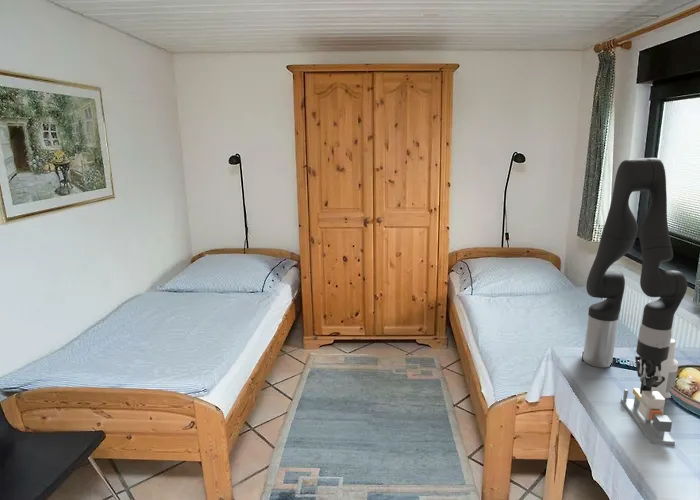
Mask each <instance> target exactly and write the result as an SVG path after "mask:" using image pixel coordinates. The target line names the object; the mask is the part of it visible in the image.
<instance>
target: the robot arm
mask: <svg viewBox="0 0 700 500" xmlns="http://www.w3.org/2000/svg"><path fill="white" fill-rule="evenodd" d="M633 192H648V193H649V194H648V195H649V206H648V210H647V212H646V214H645V216H644V218H643V220H642V222H641V225H640V227H639V225H638V222H637V220H636V217H635V216H634V214H633V212H632V210H631V207H630V205H629V204H630V203H629V202H630V196H631V195H632V193H633ZM667 198H668V197H667V176H666V169H665V166H664V163H663V162H662V160H661V159H660V158H658V157H644V158H632V159H631V158H630V159H624V160H623V161H621V162H620V163H619V165H618V168H617V170H616V174H615V179H614V184H613V191H612V196H611V201H610V206H609V208H608V213H607V217H606V220H605V222H604V226H603V228H602V232H601V236H600V241H599V245H598V248H597V252H596V255H595V258H594V261H593V263H592V266H591V267H590V270H589V273H588V276H587V280H586V292H587V294H588V296H589V297H592V298H596V299H598V298H599V299H604V300H602V301H600V302H596V303H592V304H591V305H590V306H589V307H588V313H587V314H588V315H587V322H586V331H585V338H584V347H583V356H582V360H583V361H584V363H586V364H587V365H590V366H592V367H596V368H609V367H611V366H612V365H611V363H612V364H613V359H614V352H615V345H616V338H617V331H618V324H619V317H620V316H619V315H620V313H621V307H622V303H623V297H624V293H625V285H626V280H625V275H624V273H623V272H621V271H618V270H609V268H611V266H612V265H613V264H615V263H616V262H617V261H618V260H620V259H621V258H623V257H624V256H625V255H626V254H628V252H630V250H631V249H633V246H634V244H635V241H636V237H637V235H638V237H639V244H640V250H641V254H642V261H641V262H642V263H641V274H640V279H639V280H640V281H639V285H640V288H641V291H642V292H643V294H645V296H647V297H650V298H658V299H656V300H654V301H651V302H648V303H646V304H645V306H644V308H643V313H642V318H641V324H640V327H639V330H638V331H639V332H638V337H637V342H636V343H637V344H636V351H635V352H636V354H637V355H636V356H634V358H635V365H636V372H637V377H638V378H640V379H639V380H640V383H641V384H640V388H639V389H640V394H641V395H642V391H651V389H652V387H658V386H659V385H660V384H661V383H663V382H664V381H665V377H664V376H661V374H660V371H661V362H663V361H665V360H666V359H667V358H668V353H669V348H670V342H671V339H672V335H673V334H672V333H673V331H672V329H673V324H674V323H673V322H674V318H675V313H676V312H677V310H678V309H679V307H680V304H681V302H682V301H683V299H684V297H685V295H686V294H687V293H686V292H687V290H688V280H687V277H686V276H685V274H684V273H683V272H682V271H679V270H675V269H674V270H660V269H659V268H660V264H663V263H667V262H670V261H672V260H673V258H674V251H673V247H672V243H671V237H670V232H669V226H668V225H669V224H668V205H667V204H668V200H667ZM638 231H639V232H638ZM638 233H639V234H638ZM610 365H611V366H610Z"/></svg>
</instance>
